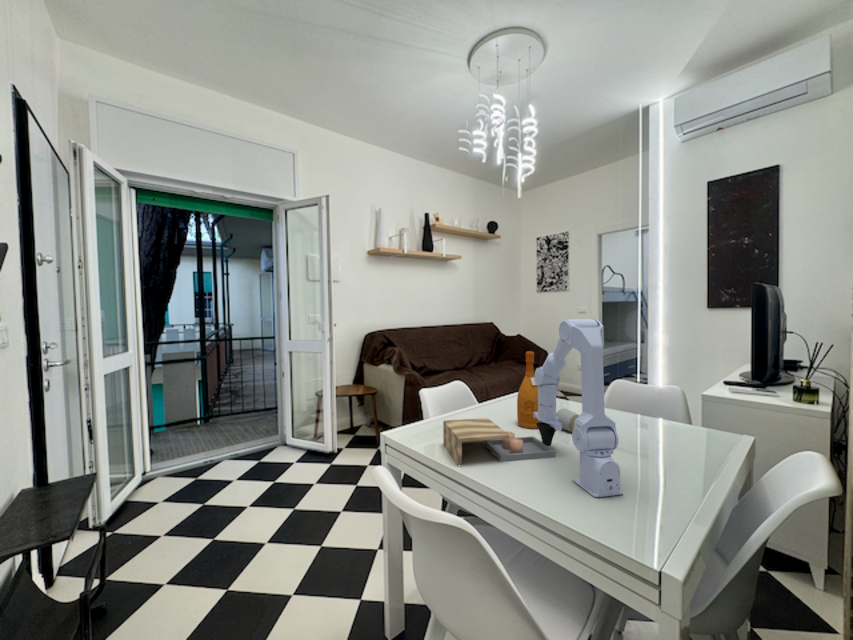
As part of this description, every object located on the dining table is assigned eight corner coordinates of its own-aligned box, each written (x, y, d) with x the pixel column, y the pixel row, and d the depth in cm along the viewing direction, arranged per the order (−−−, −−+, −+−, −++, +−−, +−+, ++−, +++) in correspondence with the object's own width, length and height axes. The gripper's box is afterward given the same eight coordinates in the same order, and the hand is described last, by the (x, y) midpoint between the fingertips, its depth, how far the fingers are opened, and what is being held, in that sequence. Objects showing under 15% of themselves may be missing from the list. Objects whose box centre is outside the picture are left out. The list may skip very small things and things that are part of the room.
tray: (555, 459, 111) (555, 451, 111) (500, 463, 108) (500, 455, 107) (533, 443, 125) (533, 436, 125) (484, 446, 121) (484, 439, 121)
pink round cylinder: (525, 456, 111) (525, 441, 111) (513, 457, 110) (513, 443, 110) (518, 451, 115) (518, 437, 115) (507, 452, 114) (507, 438, 114)
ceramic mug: (570, 435, 132) (570, 414, 132) (554, 428, 139) (554, 409, 139) (591, 431, 136) (591, 411, 136) (574, 425, 144) (574, 406, 144)
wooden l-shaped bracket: (509, 461, 108) (509, 434, 108) (458, 466, 105) (458, 438, 105) (487, 441, 125) (487, 417, 125) (443, 444, 122) (443, 420, 122)
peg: (516, 448, 118) (517, 435, 117) (506, 450, 116) (507, 436, 116) (508, 443, 121) (509, 430, 121) (499, 445, 120) (499, 432, 119)
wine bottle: (516, 428, 140) (516, 352, 139) (517, 421, 149) (517, 349, 149) (542, 430, 137) (543, 352, 136) (542, 423, 146) (542, 350, 146)
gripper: (570, 409, 111) (570, 452, 112) (546, 398, 126) (546, 437, 126) (550, 410, 110) (550, 454, 110) (528, 399, 124) (527, 438, 124)
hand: (546, 445), depth 118 cm, fingers closed, pressing on tray
